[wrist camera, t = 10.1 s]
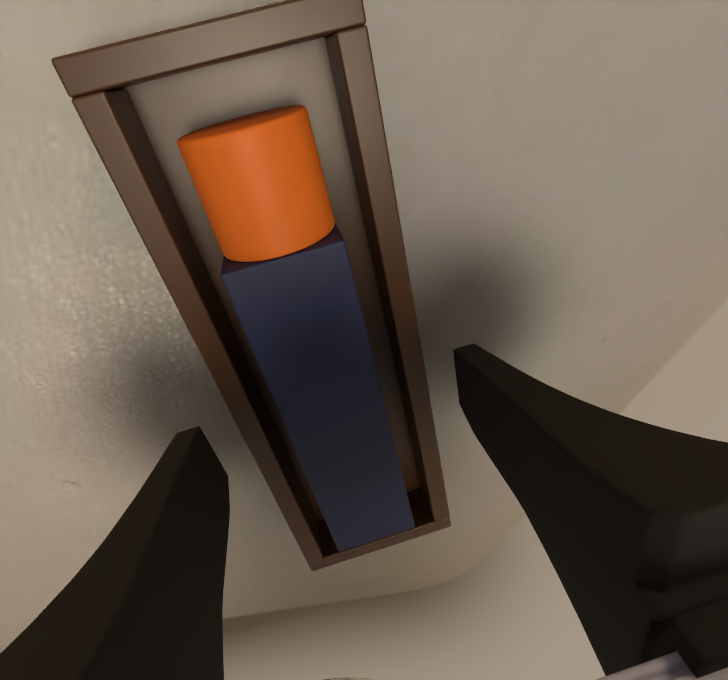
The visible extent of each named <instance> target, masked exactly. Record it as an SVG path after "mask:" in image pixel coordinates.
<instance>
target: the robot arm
mask: <svg viewBox="0 0 728 680" xmlns="http://www.w3.org/2000/svg"><path fill="white" fill-rule="evenodd" d="M453 353H454V362H455V370H456V378H457V386H458V395H459V403H460V406H461V408H462V410H463V412H464V414H465V416H466V418H467V420H468V422H469V424H470V426H471V428H472V430H473V432H474V434H475V436H476V437H477V439H478V440H479V442H480V443H481V445H482V446H483V448H484V449H485V451H486V453H487V454H488V456H489V457H490V459H491V460H492V462H493V463H494V465H495V466H496V468H497V469H498V471H499V472H500V474H501V475H502V477H503V478H504V480H505V481H506V483H507V484H508V486H509V487H510V489H511V490H512V492H513V493H514V495H515V496H516V498H517V499H518V501H519V503H520V504H521V506H522V508H523V509H524V511H525V513H526V515H527V517H528V518H529V520H530V522H531V524H532V526H533V528H534V530H535V532H536V533H537V535H538V537H539V539H540V541H541V543H542V545H543V547H544V549H545V551H546V553H547V555H548V556H549V559H550V560H551V563H552V564H553V566H554V568H555V570H556V572H557V574H558V576H559V578H560V580H561V582H562V584H563V586H564V588H565V591H566V593H567V595H568V597H569V598H570V601H571V603H572V605H573V607H574V609H575V611H576V613H577V615H578V617H579V619H580V621H581V623H582V625H583V628H584V630H585V632H586V634H587V636H588V638H589V641H590V643H591V645H592V647H593V649H594V651H595V654H596V656H597V658H598V660H599V662H600V664H601V666H602V669H603V671H604V673H605V675H606V676H605V677H603V678H600V679H597V680H728V443H727V442H722V441H716V440H711V439H706V438H702V437H698V436H694V435H689V434H685V433H681V432H677V431H673V430H669V429H665V428H661V427H658V426H654V425H651V424H647V423H644V422H641V421H638V420H634V419H631V418H628V417H624V416H622V415H619V414H616V413H613V412H610V411H607V410H605V409H602V408H600V407H597V406H594V405H592V404H589V403H587V402H584V401H581V400H579V399H577V398H574V397H572V396H570V395H568V394H565V393H563V392H561V391H559V390H557V389H555V388H553V387H551V386H548V385H546V384H544V383H542V382H541V381H539V380H537V379H535V378H533V377H531V376H529V375H527V374H525V373H524V372H522V371H520V370H518V369H516V368H515V367H513V366H511V365H509V364H508V363H506V362H504V361H503V360H501V359H499V358H498V357H496V356H494V355H493V354H491V353H489V352H487V351H486V350H484V349H482V348H481V347H479V346H477V345H476V344H470V345H467V346H464V347H460V348H457V349H454V350H453ZM229 515H230V502H229V483H228V475H227V473H226V471H225V470H224V468H223V466H222V464H221V463H220V461H219V459H218V457H217V456H216V454H215V452H214V451H213V449H212V447H211V445H210V444H209V442H208V440H207V438H206V437H205V435H204V433H203V431H202V430H201V428H200V426H198V427H195V428H191V429H188V430H185V431H181V432H178V433H177V434H176V435H175V437H174V438H173V440H172V441H171V443H170V444H169V446H168V447H167V449H166V451H165V452H164V454H163V455H162V457H161V458H160V460H159V462H158V463H157V465H156V466H155V468H154V469H153V471H152V473H151V474H150V476H149V477H148V479H147V480H146V482H145V483H144V485H143V486H142V488H141V489H140V491H139V492H138V494H137V495H136V497H135V498H134V500H133V501H132V503H131V504H130V505H129V507H128V508H127V510H126V511H125V512H124V514H123V515H122V517H121V518H120V519H119V521H118V522H117V524H116V525H115V526H114V528H113V529H112V531H111V532H110V533H109V535H108V536H107V537H106V539H105V540H104V541H103V543H102V544H101V545H100V546H99V548H98V549H97V550H96V551H95V553H94V554H93V555H92V556H91V558H90V559H89V560H88V561H87V562H86V564H85V565H84V566H83V567H82V568H81V569H80V571H79V572H78V573H77V574H76V575H75V577H74V578H73V579H72V580H71V581H70V582H69V583H68V584H67V586H66V587H65V588H64V589H63V590H62V591H61V592H60V593H59V594H58V595H57V596H56V597H55V598H54V600H53V601H52V602H51V603H50V604H49V605H48V606H47V607H46V608H45V609H44V610H43V611H42V612H41V613H40V615H39V616H38V617H37V618H36V619H35V620H34V621H33V622H32V623H31V624H30V625H29V626H28V627H27V628H26V629H25V630H24V631H23V632H22V633H21V634H20V635H19V636H18V637H17V638H16V639H15V640H14V641H13V642H12V643H11V644H10V645H9V646H8V647H7V648H6V649H5V650H4V651H3V652H1V653H0V680H224V669H223V634H222V633H223V629H222V605H223V587H224V576H225V564H226V553H227V541H228V529H229Z"/></svg>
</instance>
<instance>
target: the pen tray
mask: <svg viewBox="0 0 728 680" xmlns="http://www.w3.org/2000/svg"><path fill="white" fill-rule="evenodd" d="M365 23H366V17H365V12H364V6H363V0H288V1H283V2H279V3H275V4H271V5H267V6H263V7H259V8H255V9H251V10H247V11H243V12H239V13H234V14H230V15H226V16H222V17H218V18H214V19H210V20H206V21H202V22H198V23H194V24H190V25H185V26H181V27H177V28H173V29H169V30H165V31H161V32H157V33H153V34H149V35H145V36H141V37H136V38H132V39H128V40H124V41H120V42H116V43H112V44H108V45H104V46H100V47H96V48H91V49H87V50H83V51H79V52H75V53H71V54H67V55H63V56H59V57H55V58H53V59H52V64H53V66H54V68H55V70H56V72H57V73H58V75H59V77H60V79H61V81H62V83H63V85H64V87H65V89H66V91H67V93H68V95H69V96H70V97H72V98H73V99H72V103H73V105H74V107H75V109H76V111H77V113H78V115H79V116H80V118H81V120H82V122H83V124H84V126H85V128H86V130H87V132H88V134H89V136H90V138H91V140H92V142H93V144H94V146H95V148H96V150H97V152H98V154H99V156H100V158H101V160H102V161H103V163H104V165H105V167H106V169H107V171H108V173H109V175H110V177H111V179H112V181H113V183H114V185H115V187H116V189H117V191H118V193H119V195H120V197H121V199H122V201H123V203H124V205H125V206H126V208H127V210H128V212H129V214H130V216H131V218H132V220H133V222H134V224H135V226H136V228H137V230H138V232H139V234H140V236H141V238H142V240H143V242H144V244H145V246H146V248H147V250H148V251H149V253H150V255H151V257H152V259H153V261H154V263H155V265H156V267H157V269H158V271H159V273H160V275H161V277H162V279H163V281H164V283H165V285H166V287H167V289H168V291H169V293H170V295H171V296H172V298H173V300H174V302H175V304H176V306H177V308H178V310H179V312H180V314H181V316H182V318H183V320H184V322H185V324H186V326H187V328H188V330H189V332H190V334H191V336H192V338H193V339H194V341H195V343H196V345H197V347H198V349H199V351H200V353H201V355H202V357H203V359H204V361H205V363H206V365H207V367H208V369H209V371H210V373H211V375H212V377H213V379H214V381H215V383H216V384H217V386H218V388H219V390H220V392H221V394H222V396H223V398H224V400H225V402H226V404H227V406H228V408H229V410H230V412H231V414H232V416H233V418H234V420H235V422H236V424H237V426H238V428H239V429H240V431H241V433H242V435H243V437H244V439H245V441H246V443H247V445H248V447H249V449H250V451H251V453H252V455H253V457H254V459H255V461H256V463H257V465H258V467H259V469H260V471H261V473H262V474H263V476H264V478H265V480H266V482H267V484H268V486H269V488H270V490H271V492H272V494H273V496H274V498H275V500H276V502H277V504H278V506H279V508H280V510H281V512H282V514H283V516H284V518H285V519H286V521H287V523H288V525H289V527H290V529H291V531H292V533H293V535H294V537H295V539H296V541H297V543H298V545H299V547H300V549H301V551H302V553H303V555H304V557H305V559H306V561H307V562H308V564H309V566H310V568H311V570H312V571H315V570H318V569H321V568H324V567H327V566H330V565H333V564H336V563H340V562H343V561H346V560H349V559H352V558H355V557H358V556H361V555H364V554H367V553H370V552H373V551H376V550H379V549H382V548H385V547H389V546H392V545H395V544H398V543H401V542H404V541H407V540H410V539H413V538H416V537H419V536H422V535H425V534H428V533H431V532H434V531H438V530H441V529H444V528H447V527H450V526H451V522H450V516H449V509H448V503H447V498H446V492H445V486H444V480H443V474H442V468H441V462H440V456H439V450H438V444H437V438H436V432H435V426H434V420H433V415H432V409H431V403H430V397H429V391H428V385H427V379H426V373H425V367H424V361H423V355H422V349H421V343H420V337H419V332H418V326H417V320H416V314H415V308H414V302H413V296H412V290H411V284H410V278H409V272H408V266H407V260H406V254H405V248H404V243H403V237H402V231H401V225H400V219H399V213H398V207H397V201H396V195H395V189H394V183H393V177H392V171H391V165H390V160H389V154H388V148H387V142H386V136H385V130H384V124H383V118H382V112H381V106H380V100H379V94H378V88H377V82H376V77H375V71H374V65H373V59H372V53H371V47H370V41H369V35H368V29H367V26H366V25H364V24H365ZM296 105H301V106H305V107H306V108H307V111H308V115H309V119H310V123H311V127H312V131H313V135H314V139H315V143H316V147H317V151H318V155H319V159H320V163H321V167H322V171H323V175H324V179H325V183H326V186H327V190H328V194H329V198H330V202H331V206H332V210H333V214H334V218H335V223H336V225H337V227H338V229H339V231H340V233H341V235H342V237H343V239H344V241H345V243H346V247H347V252H348V256H349V260H350V264H351V268H352V272H353V276H354V280H355V284H356V288H357V292H358V296H359V300H360V304H361V309H362V313H363V317H364V321H365V325H366V329H367V333H368V337H369V341H370V345H371V349H372V353H373V357H374V361H375V366H376V370H377V374H378V378H379V382H380V386H381V390H382V394H383V398H384V402H385V406H386V410H387V414H388V418H389V422H390V427H391V431H392V435H393V439H394V443H395V447H396V451H397V455H398V459H399V463H400V467H401V471H402V475H403V479H404V484H405V488H406V492H407V496H408V500H409V504H410V508H411V512H412V516H413V520H414V524H415V527H414V528H411V529H408V530H405V531H401V532H398V533H395V534H392V535H389V536H386V537H383V538H380V539H377V540H374V541H371V542H368V543H365V544H362V545H358V546H355V547H352V548H349V549H346V550H343V551H338V549H337V547H336V544H335V542H334V540H333V537H332V535H331V533H330V530H329V528H328V526H327V524H326V521H325V519H324V517H323V514H322V512H321V510H320V507H319V505H318V503H317V500H316V498H315V496H314V493H313V491H312V489H311V486H310V484H309V482H308V479H307V477H306V475H305V472H304V470H303V468H302V465H301V463H300V461H299V458H298V456H297V454H296V451H295V449H294V447H293V444H292V442H291V440H290V437H289V435H288V433H287V430H286V428H285V426H284V423H283V421H282V419H281V417H280V414H279V412H278V410H277V407H276V405H275V403H274V400H273V398H272V396H271V393H270V391H269V389H268V386H267V384H266V382H265V379H264V377H263V375H262V372H261V370H260V368H259V365H258V363H257V361H256V358H255V356H254V354H253V351H252V349H251V347H250V344H249V342H248V340H247V337H246V335H245V333H244V330H243V328H242V326H241V323H240V321H239V319H238V316H237V314H236V312H235V310H234V307H233V305H232V303H231V300H230V298H229V296H228V293H227V291H226V289H225V286H224V284H223V282H222V279H221V277H220V275H221V269H222V263H223V257H224V255H223V253H222V251H221V249H220V246H219V244H218V241H217V239H216V237H215V234H214V232H213V229H212V227H211V224H210V222H209V220H208V217H207V215H206V212H205V210H204V208H203V205H202V203H201V200H200V198H199V195H198V193H197V191H196V188H195V186H194V183H193V181H192V179H191V176H190V174H189V171H188V169H187V166H186V164H185V162H184V159H183V157H182V154H181V152H180V150H179V147H178V145H177V140H178V139H179V138H180V137H182V136H184V135H186V134H188V133H191V132H193V131H196V130H199V129H201V128H204V127H207V126H210V125H214V124H217V123H220V122H224V121H227V120H231V119H234V118H238V117H242V116H246V115H250V114H254V113H258V112H262V111H267V110H271V109H276V108H281V107H287V106H296Z"/></svg>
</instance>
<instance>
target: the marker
mask: <svg viewBox="0 0 728 680" xmlns="http://www.w3.org/2000/svg"><path fill="white" fill-rule="evenodd" d="M177 145H178V147H179V150H180V152H181V154H182V157H183V159H184V162H185V164H186V166H187V169H188V171H189V174H190V176H191V179H192V181H193V183H194V186H195V188H196V191H197V193H198V195H199V198H200V200H201V203H202V205H203V208H204V210H205V212H206V215H207V217H208V220H209V222H210V224H211V227H212V229H213V232H214V234H215V237H216V239H217V241H218V244H219V246H220V249H221V251H222V253H223V255H224V257H223V263H222V269H221V275H220V277H221V279H222V282H223V284H224V286H225V289H226V291H227V293H228V296H229V298H230V300H231V303H232V305H233V307H234V310H235V312H236V314H237V316H238V319H239V321H240V323H241V326H242V328H243V330H244V333H245V335H246V337H247V340H248V342H249V344H250V347H251V349H252V351H253V354H254V356H255V358H256V361H257V363H258V365H259V368H260V370H261V372H262V375H263V377H264V379H265V382H266V384H267V386H268V389H269V391H270V393H271V396H272V398H273V400H274V403H275V405H276V407H277V410H278V412H279V414H280V417H281V419H282V421H283V423H284V426H285V428H286V430H287V433H288V435H289V437H290V440H291V442H292V444H293V447H294V449H295V451H296V454H297V456H298V458H299V461H300V463H301V465H302V468H303V470H304V472H305V475H306V477H307V479H308V482H309V484H310V486H311V489H312V491H313V493H314V496H315V498H316V500H317V503H318V505H319V507H320V510H321V512H322V514H323V517H324V519H325V521H326V524H327V526H328V528H329V530H330V533H331V535H332V537H333V540H334V542H335V544H336V547H337V549H338V551H343V550H346V549H349V548H352V547H355V546H358V545H362V544H365V543H368V542H371V541H374V540H377V539H380V538H383V537H386V536H389V535H392V534H395V533H398V532H401V531H405V530H408V529H411V528H414V527H415V524H414V520H413V516H412V512H411V508H410V504H409V500H408V496H407V492H406V488H405V484H404V479H403V475H402V471H401V467H400V463H399V459H398V455H397V451H396V447H395V443H394V439H393V435H392V431H391V427H390V422H389V418H388V414H387V410H386V406H385V402H384V398H383V394H382V390H381V386H380V382H379V378H378V374H377V370H376V366H375V361H374V357H373V353H372V349H371V345H370V341H369V337H368V333H367V329H366V325H365V321H364V317H363V313H362V309H361V304H360V300H359V296H358V292H357V288H356V284H355V280H354V276H353V272H352V268H351V264H350V260H349V256H348V252H347V247H346V243H345V241H344V239H343V237H342V235H341V233H340V231H339V229H338V227H337V225H336V223H335V218H334V214H333V210H332V206H331V202H330V198H329V194H328V190H327V186H326V183H325V179H324V175H323V171H322V167H321V163H320V159H319V155H318V151H317V147H316V143H315V139H314V135H313V131H312V127H311V123H310V119H309V115H308V111H307V108H306V107H305V106H301V105H296V106H287V107H281V108H276V109H271V110H267V111H262V112H258V113H254V114H250V115H246V116H242V117H238V118H234V119H231V120H227V121H224V122H220V123H217V124H214V125H210V126H207V127H204V128H201V129H199V130H196V131H193V132H191V133H188V134H186V135H184V136H182V137H180V138H179V139H178V140H177Z"/></svg>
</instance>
